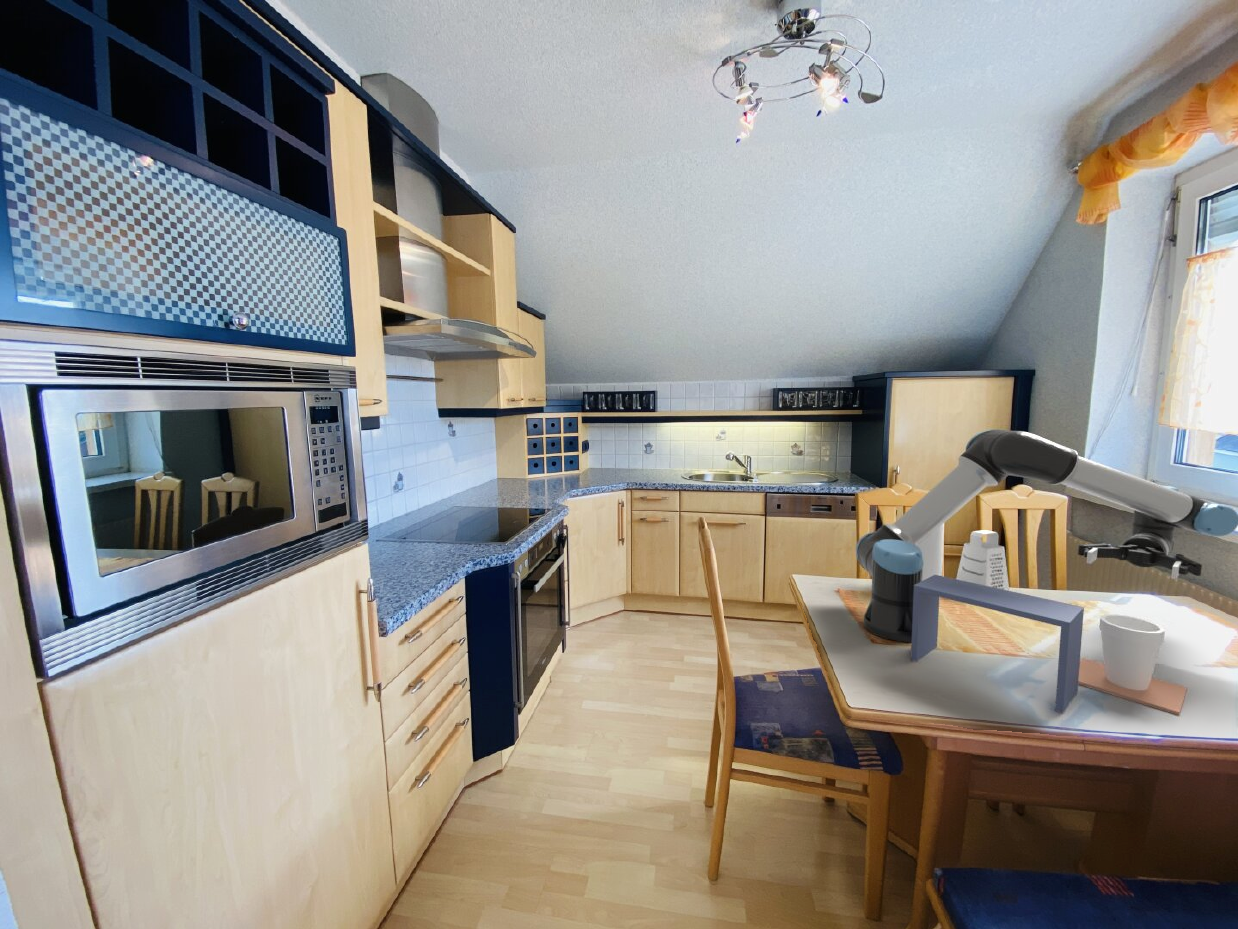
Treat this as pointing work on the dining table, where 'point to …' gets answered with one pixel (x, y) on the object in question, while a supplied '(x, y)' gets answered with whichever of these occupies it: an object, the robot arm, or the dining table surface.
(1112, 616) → the foam cup
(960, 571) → the grater
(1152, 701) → the mat
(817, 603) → the dining table surface
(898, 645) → the dining table surface
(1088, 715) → the dining table surface
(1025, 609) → the rectangular arch
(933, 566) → the tall pillar cylinder
